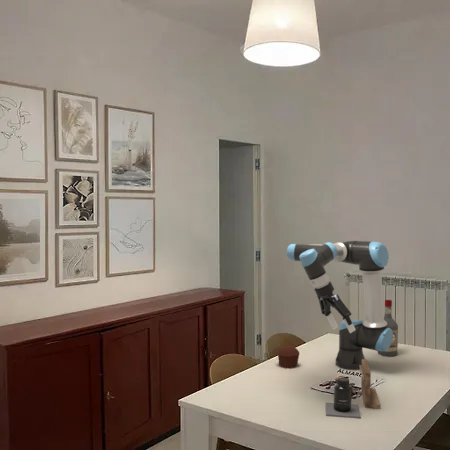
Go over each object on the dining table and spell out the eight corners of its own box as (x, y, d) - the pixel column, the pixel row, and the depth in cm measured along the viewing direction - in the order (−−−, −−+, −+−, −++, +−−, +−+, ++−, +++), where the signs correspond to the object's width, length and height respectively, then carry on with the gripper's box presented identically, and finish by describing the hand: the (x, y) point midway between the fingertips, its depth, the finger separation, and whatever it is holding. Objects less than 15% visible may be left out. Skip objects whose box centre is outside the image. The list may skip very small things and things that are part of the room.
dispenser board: (362, 407, 215) (362, 372, 214) (358, 390, 235) (359, 359, 234) (380, 408, 214) (380, 374, 213) (375, 391, 233) (375, 360, 233)
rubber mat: (326, 415, 206) (326, 414, 206) (325, 403, 219) (325, 402, 219) (360, 418, 204) (360, 416, 204) (358, 405, 216) (358, 404, 216)
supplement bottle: (341, 413, 206) (341, 383, 206) (330, 407, 213) (330, 377, 212) (354, 410, 210) (355, 380, 209) (343, 404, 216) (344, 375, 215)
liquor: (375, 352, 297) (376, 299, 296) (389, 351, 299) (390, 298, 298) (385, 357, 288) (386, 302, 287) (399, 356, 291) (400, 301, 290)
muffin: (285, 361, 279) (285, 342, 279) (303, 365, 272) (303, 345, 272) (272, 366, 270) (272, 346, 270) (291, 370, 263) (291, 350, 263)
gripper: (301, 288, 233) (322, 331, 234) (330, 290, 209) (353, 337, 211) (314, 280, 235) (335, 322, 237) (344, 281, 212) (367, 328, 213)
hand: (344, 329), depth 224 cm, fingers open, 13 cm apart
